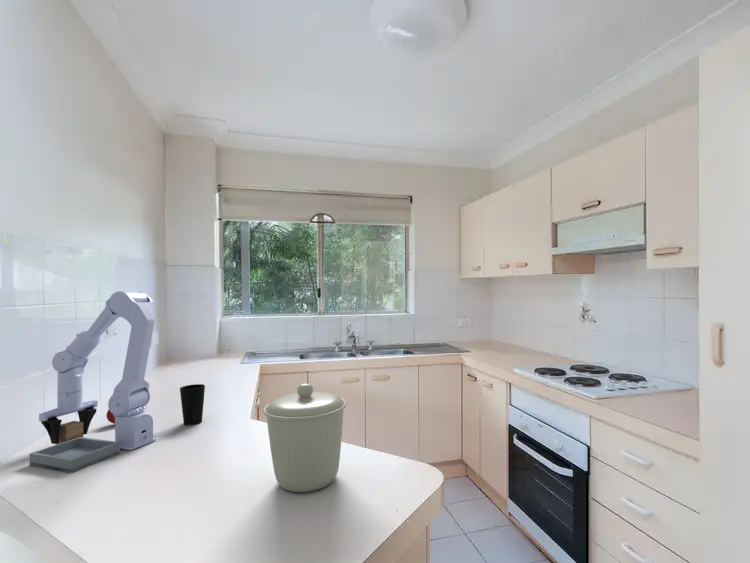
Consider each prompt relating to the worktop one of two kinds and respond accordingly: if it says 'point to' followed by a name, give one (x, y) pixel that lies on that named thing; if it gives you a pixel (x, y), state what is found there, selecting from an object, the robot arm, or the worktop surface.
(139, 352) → the robot arm
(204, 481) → the worktop surface
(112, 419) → the pomegranate
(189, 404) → the cup
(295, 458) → the canister
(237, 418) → the worktop surface
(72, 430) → the block
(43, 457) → the tray
